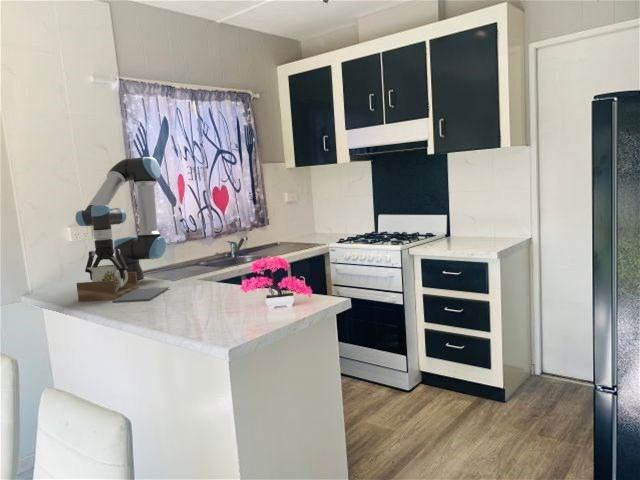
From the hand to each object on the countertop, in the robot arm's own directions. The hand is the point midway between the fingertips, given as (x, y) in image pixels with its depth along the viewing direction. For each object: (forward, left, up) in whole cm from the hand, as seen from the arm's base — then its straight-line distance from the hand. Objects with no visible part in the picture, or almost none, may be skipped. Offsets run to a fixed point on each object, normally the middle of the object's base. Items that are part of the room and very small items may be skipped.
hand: (108, 286), depth 222 cm
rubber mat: (+7, +18, -4) cm, 20 cm away
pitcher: (0, +1, -4) cm, 4 cm away
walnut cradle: (0, 0, -4) cm, 4 cm away
